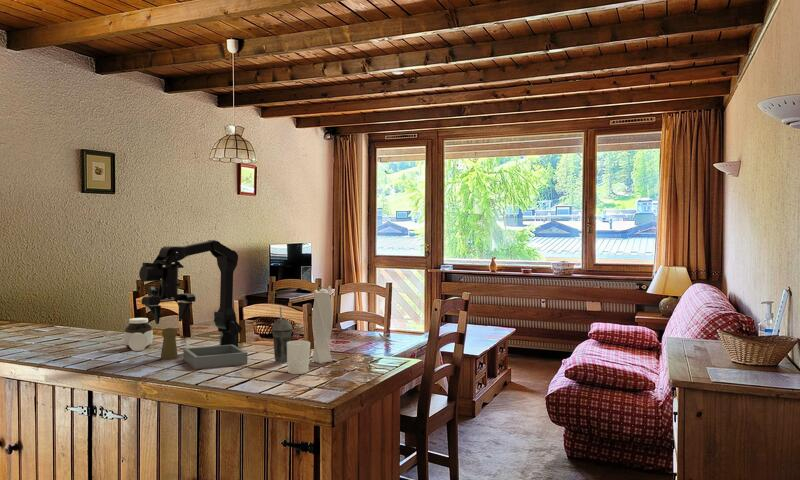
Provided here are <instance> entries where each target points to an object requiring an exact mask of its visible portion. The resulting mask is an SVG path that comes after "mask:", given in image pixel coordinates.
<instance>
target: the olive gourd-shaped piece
mask: <svg viewBox="0 0 800 480" xmlns="http://www.w3.org/2000/svg"><path fill="white" fill-rule="evenodd" d="M161 335H162V337H163V338H162V339H163V340H162V346H161V351H160V353H161V354H160V360H164V361H165V360H169V361H171V360H176V359H178V358H179V357H178V355H179V354H178V348H177V340H176V339H177V338H176V337H177V335H178V330H177V328H173V327H167V328H164V329H162V332H161Z"/></svg>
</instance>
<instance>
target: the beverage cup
mask: <svg viewBox="0 0 800 480" xmlns="http://www.w3.org/2000/svg"><path fill="white" fill-rule="evenodd" d="M279 314H280V315H279V317H280V318H278V319H277V320H275V322H274V323H273V324H272V329H271V333H272V339H273V350H274V351H273V352H274V363H276V362H278V364H283V363H282V362H286V363H287V342H289V341H291V336H292V333H293V328H292V327H293V326H292V324H291V322H290V320H288V319H286V318H283V315H282V307H281V306H279Z"/></svg>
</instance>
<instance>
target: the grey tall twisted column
mask: <svg viewBox="0 0 800 480" xmlns="http://www.w3.org/2000/svg"><path fill="white" fill-rule="evenodd" d="M318 290H319V291H318ZM318 290H317V289H315V290H314V301H313V306H312V314H311V315H312V316H311V322H312V323H311V325H312V333H313V340H314V349H313V352H312V356H311V359H309V360H310V361H309V362H311V361H314V362H317V363H316V364H318V363H320V364H319V365H322V364H321V363H325V362H329V361H332V360H333V359H332V355H331V354H332V353H331V349H330V344H329V343H330V339H331V335H332V330H333V329H332V328H333V321H334V317H333V316H334V315H333V313H334V312H333V304H332V297H331V294H332V286H331V285H329V286H328V287H327V289H326V288H325V289H322V288H321V289H318ZM314 362H313V363H314ZM325 364H326V363H325Z"/></svg>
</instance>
